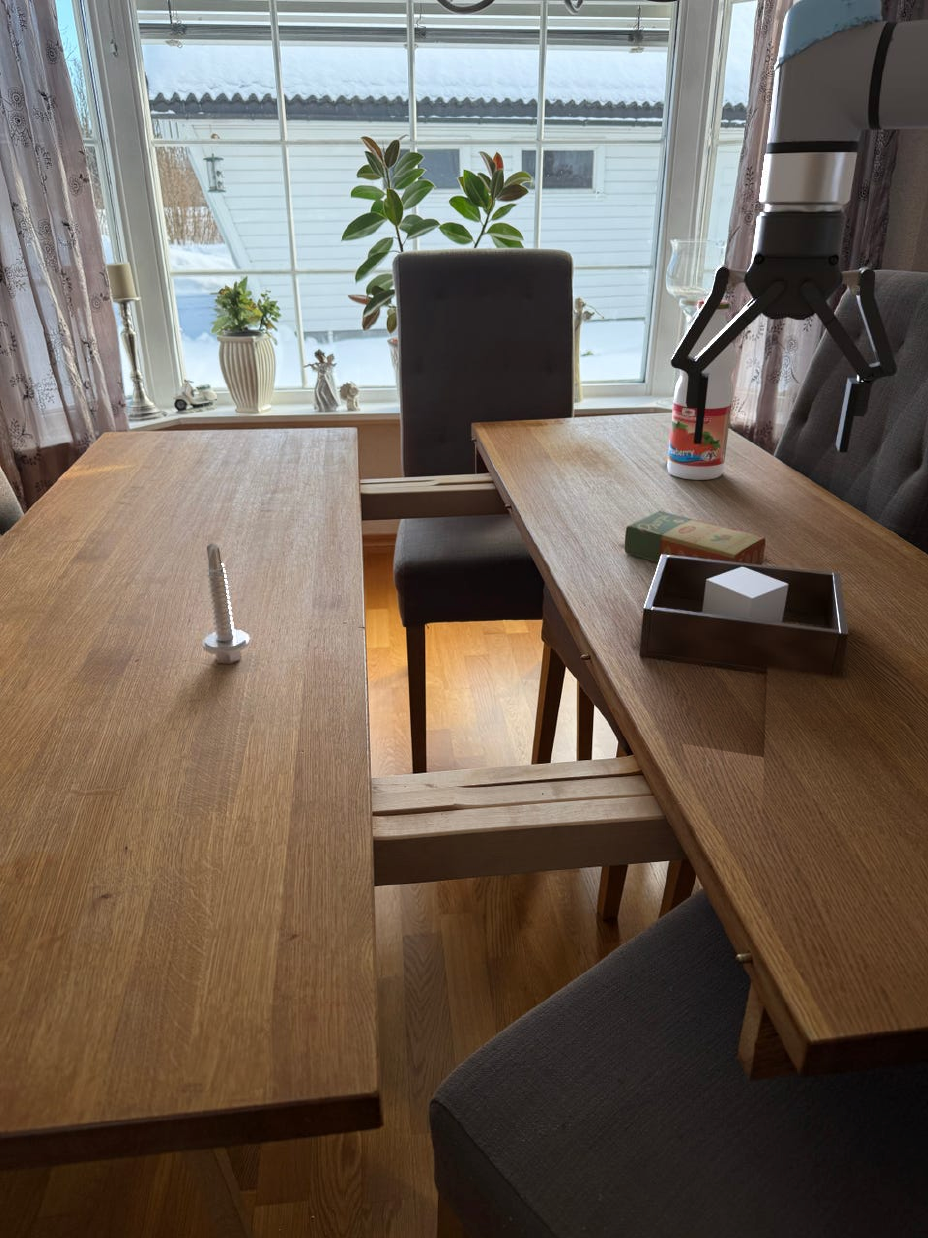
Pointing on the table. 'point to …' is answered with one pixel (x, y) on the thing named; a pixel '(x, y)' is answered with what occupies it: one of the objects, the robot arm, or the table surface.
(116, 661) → the table surface
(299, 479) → the table surface
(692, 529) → the carton
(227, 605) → the screw
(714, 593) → the white cube
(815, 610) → the box
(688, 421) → the fruit juice
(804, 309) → the robot arm
